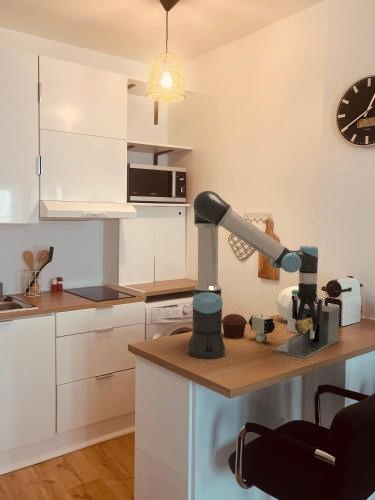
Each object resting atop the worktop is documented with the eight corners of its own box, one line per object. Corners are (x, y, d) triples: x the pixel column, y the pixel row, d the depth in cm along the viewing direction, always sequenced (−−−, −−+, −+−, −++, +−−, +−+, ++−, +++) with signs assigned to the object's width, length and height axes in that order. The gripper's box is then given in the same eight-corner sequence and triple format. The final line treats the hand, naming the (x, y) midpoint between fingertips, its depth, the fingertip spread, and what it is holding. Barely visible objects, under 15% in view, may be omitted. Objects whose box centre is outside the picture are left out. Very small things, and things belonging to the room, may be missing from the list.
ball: (298, 337, 228) (297, 311, 216) (269, 317, 242) (267, 291, 229) (322, 316, 235) (322, 290, 223) (293, 298, 249) (292, 272, 236)
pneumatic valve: (267, 345, 188) (267, 317, 188) (248, 339, 198) (248, 312, 197) (276, 343, 192) (276, 316, 191) (257, 337, 201) (257, 311, 200)
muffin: (218, 337, 200) (218, 315, 199) (224, 331, 210) (224, 311, 209) (244, 340, 196) (244, 318, 195) (249, 334, 206) (249, 313, 206)
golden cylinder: (294, 332, 185) (295, 318, 185) (309, 326, 197) (310, 313, 196) (307, 334, 182) (308, 321, 181) (322, 328, 193) (322, 315, 193)
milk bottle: (303, 333, 209) (304, 291, 207) (286, 332, 211) (287, 290, 210) (304, 330, 216) (305, 289, 215) (288, 328, 219) (289, 288, 217)
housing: (273, 351, 180) (274, 315, 179) (308, 335, 206) (309, 303, 205) (305, 358, 171) (306, 320, 170) (338, 340, 198) (339, 307, 196)
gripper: (332, 283, 183) (329, 339, 185) (292, 279, 194) (290, 331, 196) (325, 285, 177) (322, 342, 179) (284, 281, 188) (282, 335, 190)
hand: (306, 336), depth 187 cm, fingers closed on golden cylinder, 5 cm apart
